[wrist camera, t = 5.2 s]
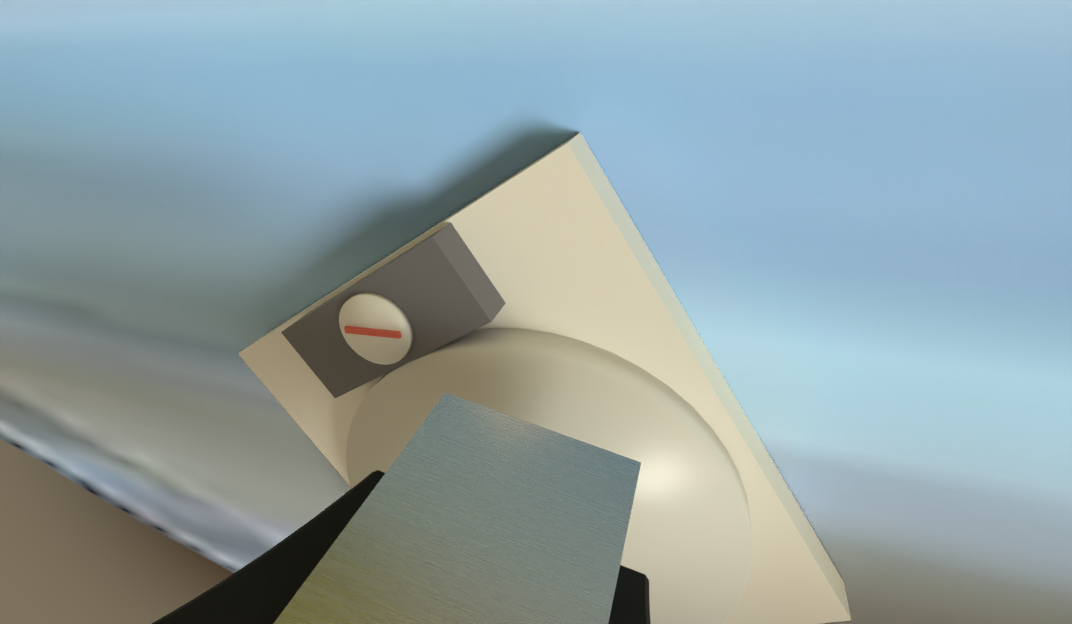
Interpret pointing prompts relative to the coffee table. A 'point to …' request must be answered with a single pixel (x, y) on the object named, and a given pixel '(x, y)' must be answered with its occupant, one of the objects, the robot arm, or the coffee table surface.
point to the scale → (562, 384)
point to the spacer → (479, 530)
